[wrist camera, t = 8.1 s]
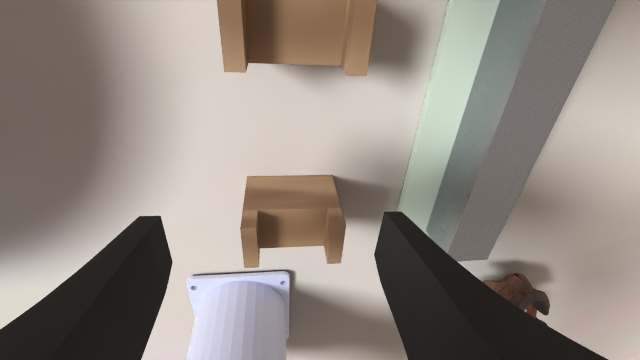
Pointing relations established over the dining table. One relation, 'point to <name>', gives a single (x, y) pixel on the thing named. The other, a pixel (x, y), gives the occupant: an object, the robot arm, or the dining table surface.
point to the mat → (445, 103)
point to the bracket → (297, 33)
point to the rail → (510, 116)
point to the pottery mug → (521, 294)
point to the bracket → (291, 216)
